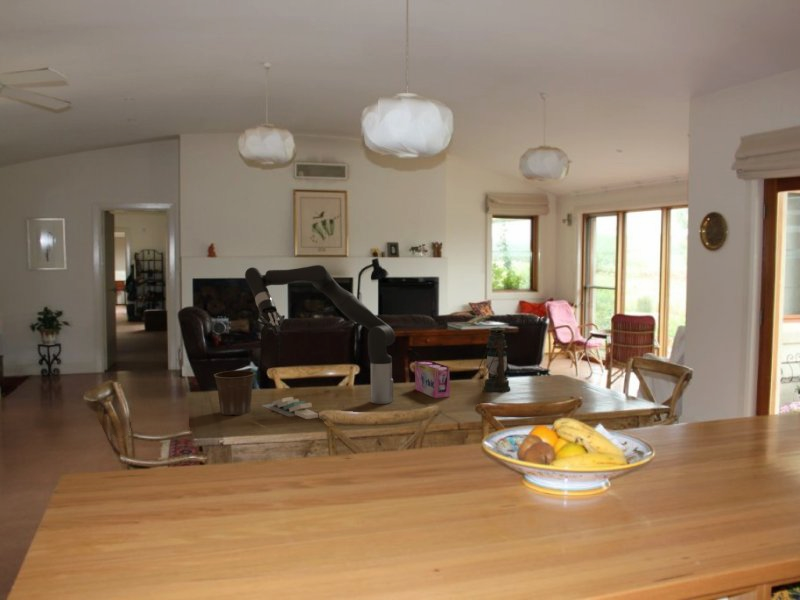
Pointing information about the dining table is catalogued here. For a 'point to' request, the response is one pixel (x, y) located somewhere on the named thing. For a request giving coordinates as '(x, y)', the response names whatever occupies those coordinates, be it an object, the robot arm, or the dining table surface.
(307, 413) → the domino
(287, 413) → the pale grey flat board
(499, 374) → the lantern
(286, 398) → the domino
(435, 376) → the gum box
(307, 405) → the domino
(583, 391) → the dining table surface
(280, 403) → the domino
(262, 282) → the robot arm
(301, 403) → the teal tile
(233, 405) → the plant pot
